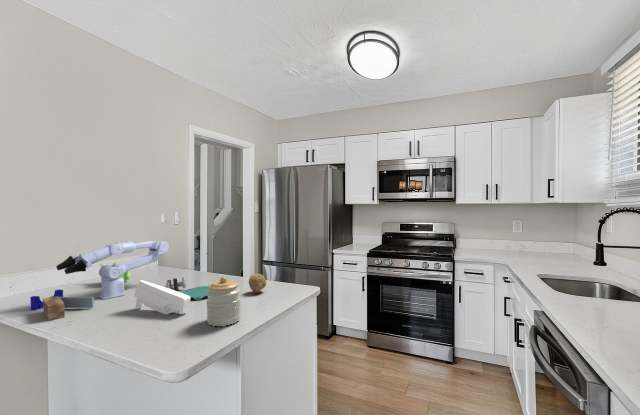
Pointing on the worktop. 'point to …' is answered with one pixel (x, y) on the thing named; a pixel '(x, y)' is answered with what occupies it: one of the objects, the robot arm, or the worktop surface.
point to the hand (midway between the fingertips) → (61, 270)
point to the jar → (223, 303)
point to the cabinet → (53, 308)
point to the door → (78, 302)
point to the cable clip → (38, 304)
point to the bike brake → (175, 284)
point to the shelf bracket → (161, 298)
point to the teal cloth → (197, 292)
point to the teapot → (124, 276)
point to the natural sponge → (257, 282)
